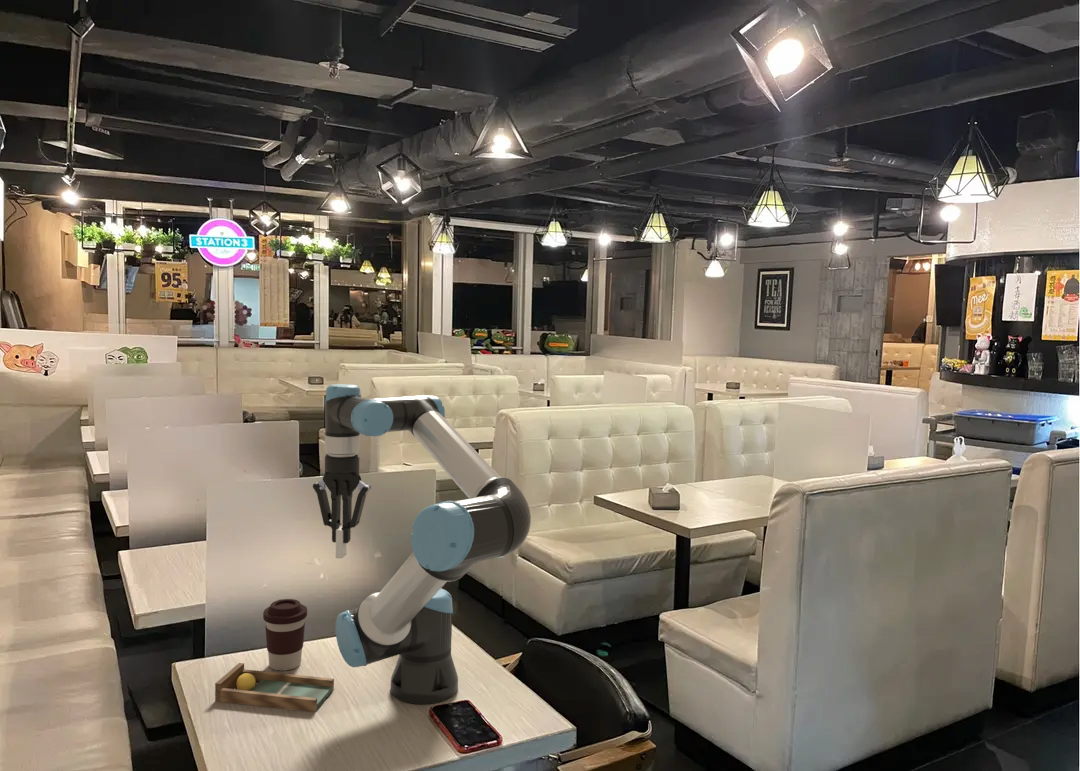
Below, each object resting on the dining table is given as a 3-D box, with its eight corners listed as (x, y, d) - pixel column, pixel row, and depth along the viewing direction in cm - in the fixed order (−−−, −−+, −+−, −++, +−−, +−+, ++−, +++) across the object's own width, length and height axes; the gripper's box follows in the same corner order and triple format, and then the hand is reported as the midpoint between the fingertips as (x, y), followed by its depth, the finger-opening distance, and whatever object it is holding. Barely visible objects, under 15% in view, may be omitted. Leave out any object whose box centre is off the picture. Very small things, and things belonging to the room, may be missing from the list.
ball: (257, 669, 176) (240, 671, 176) (247, 676, 172) (231, 678, 172) (260, 686, 176) (244, 688, 176) (251, 694, 172) (234, 696, 172)
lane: (333, 689, 176) (333, 672, 176) (315, 712, 166) (315, 694, 166) (239, 679, 179) (239, 662, 179) (215, 701, 169) (215, 683, 169)
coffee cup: (275, 653, 193) (275, 594, 192) (313, 657, 192) (314, 598, 190) (255, 671, 183) (255, 609, 182) (295, 676, 182) (295, 613, 181)
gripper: (375, 452, 179) (374, 553, 181) (320, 449, 180) (319, 549, 182) (364, 458, 171) (363, 563, 173) (307, 455, 173) (306, 559, 175)
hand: (341, 556), depth 178 cm, fingers closed
